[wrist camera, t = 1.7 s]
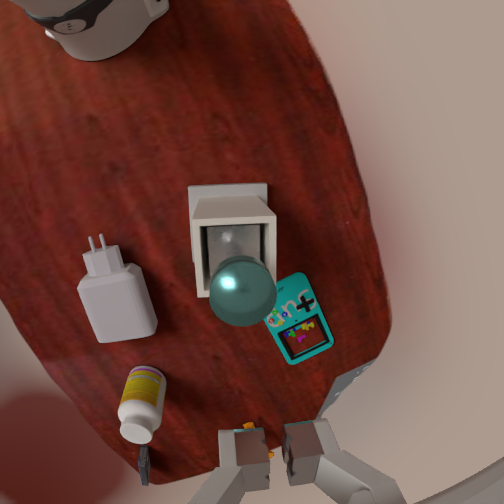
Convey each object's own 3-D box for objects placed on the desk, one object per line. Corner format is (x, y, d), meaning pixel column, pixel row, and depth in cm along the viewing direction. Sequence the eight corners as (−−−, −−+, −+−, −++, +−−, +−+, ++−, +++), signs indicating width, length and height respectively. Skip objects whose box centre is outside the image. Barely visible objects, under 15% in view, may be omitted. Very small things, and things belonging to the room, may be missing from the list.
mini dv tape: (140, 444, 55) (137, 465, 49) (147, 445, 55) (144, 467, 49) (144, 464, 57) (141, 485, 51) (150, 465, 57) (148, 486, 52)
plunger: (207, 222, 31) (203, 264, 20) (256, 220, 32) (280, 259, 20) (210, 269, 33) (209, 330, 21) (257, 266, 33) (279, 325, 22)
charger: (130, 223, 42) (159, 319, 47) (74, 237, 41) (105, 328, 46) (121, 232, 37) (154, 336, 42) (60, 247, 37) (97, 344, 42)
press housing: (189, 185, 41) (174, 204, 26) (265, 182, 42) (292, 199, 27) (193, 258, 44) (184, 311, 29) (265, 254, 45) (290, 305, 30)
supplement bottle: (123, 366, 48) (104, 420, 36) (158, 360, 49) (147, 416, 36) (138, 395, 50) (125, 449, 38) (172, 390, 51) (166, 446, 38)
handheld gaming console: (303, 270, 46) (336, 345, 51) (302, 268, 47) (334, 341, 52) (250, 296, 46) (290, 367, 51) (250, 293, 47) (289, 363, 52)
